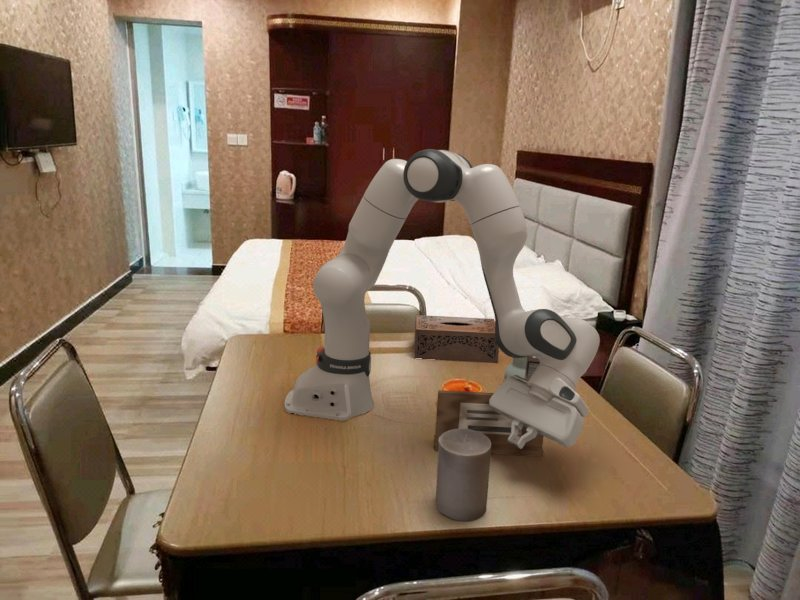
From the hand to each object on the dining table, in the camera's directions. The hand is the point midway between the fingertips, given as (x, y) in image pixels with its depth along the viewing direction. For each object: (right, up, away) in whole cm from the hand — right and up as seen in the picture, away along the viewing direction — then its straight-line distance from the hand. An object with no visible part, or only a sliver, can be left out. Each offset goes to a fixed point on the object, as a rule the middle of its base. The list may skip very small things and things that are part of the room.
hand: (514, 444), depth 118 cm
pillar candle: (-12, -10, -8) cm, 17 cm away
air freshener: (+11, +5, +48) cm, 49 cm away
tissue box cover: (-6, +12, +70) cm, 71 cm away
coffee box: (+11, 0, +31) cm, 32 cm away
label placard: (-3, -4, +13) cm, 14 cm away
